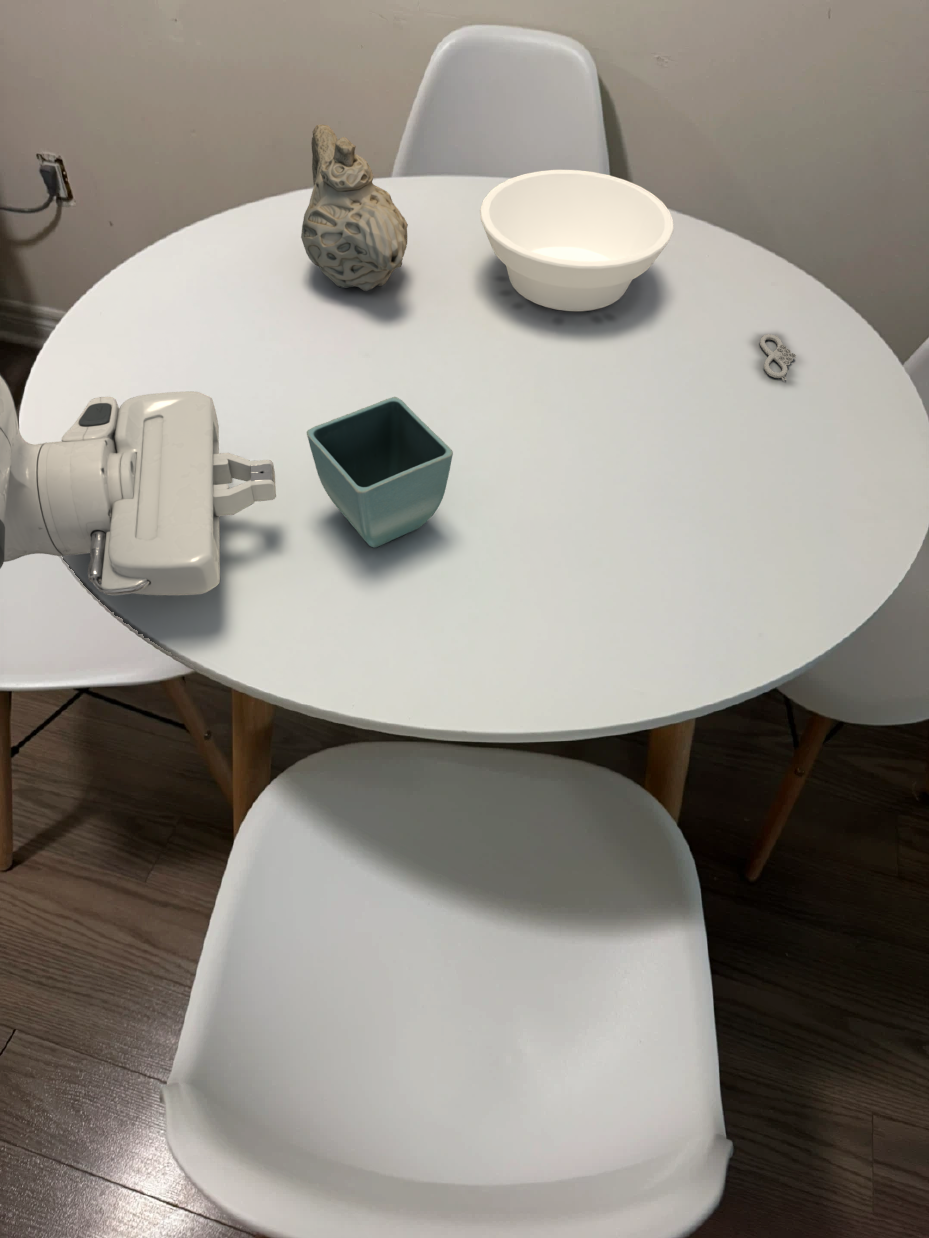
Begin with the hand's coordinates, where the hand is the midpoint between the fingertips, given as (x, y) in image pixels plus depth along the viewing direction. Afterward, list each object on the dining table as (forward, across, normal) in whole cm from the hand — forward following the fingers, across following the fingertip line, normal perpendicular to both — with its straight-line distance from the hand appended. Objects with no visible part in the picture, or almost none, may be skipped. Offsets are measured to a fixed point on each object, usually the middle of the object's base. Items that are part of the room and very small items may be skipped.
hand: (274, 479), depth 71 cm
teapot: (+10, +40, +6) cm, 42 cm away
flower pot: (+9, 0, +6) cm, 11 cm away
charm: (+53, +18, +6) cm, 56 cm away
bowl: (+34, +35, +6) cm, 49 cm away
